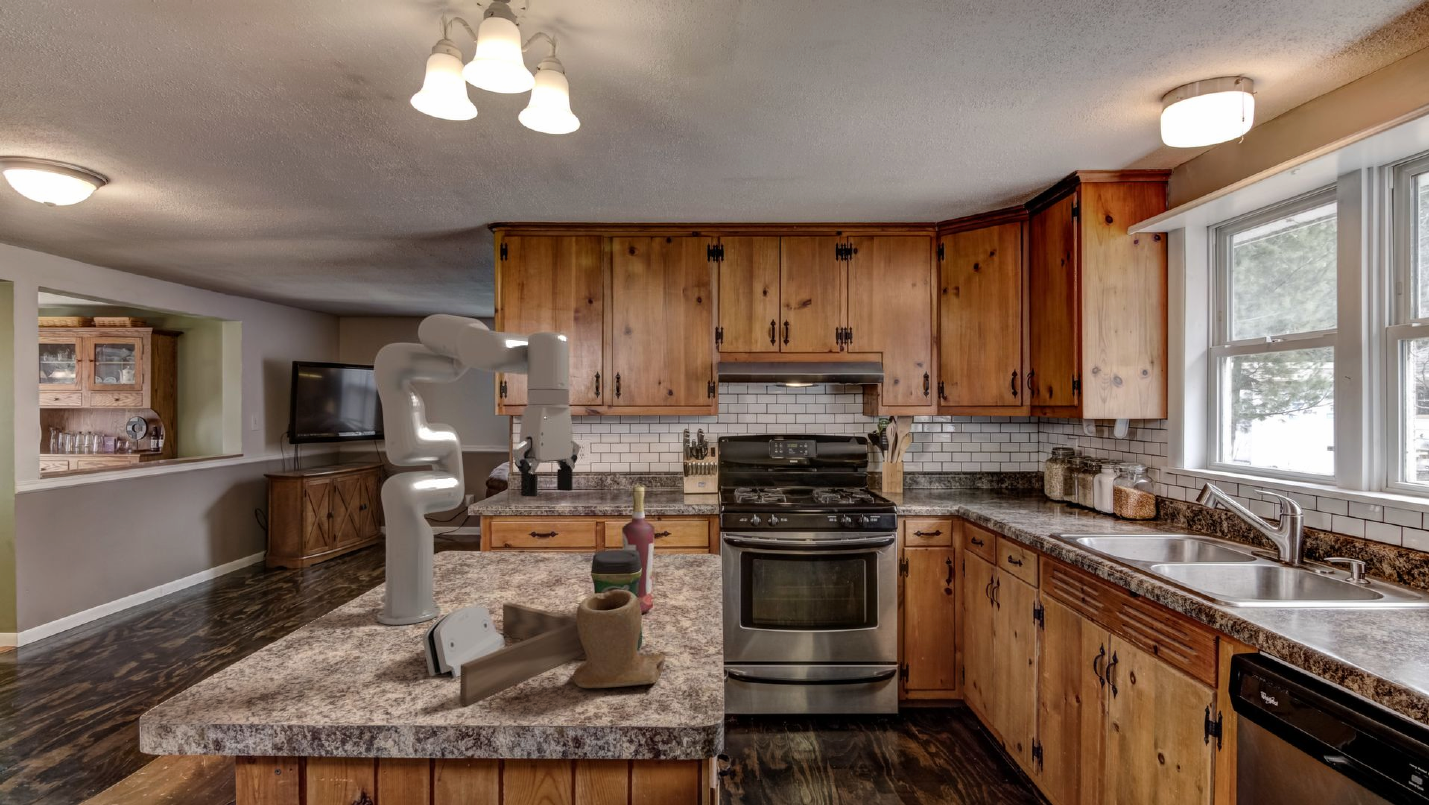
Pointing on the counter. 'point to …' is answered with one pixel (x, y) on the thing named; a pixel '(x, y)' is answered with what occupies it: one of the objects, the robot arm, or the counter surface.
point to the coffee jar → (617, 573)
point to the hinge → (460, 639)
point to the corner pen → (521, 652)
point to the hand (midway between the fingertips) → (547, 493)
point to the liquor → (641, 547)
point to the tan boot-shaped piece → (613, 643)
